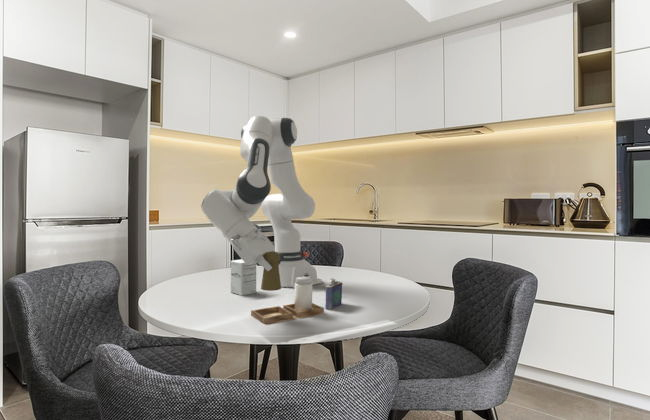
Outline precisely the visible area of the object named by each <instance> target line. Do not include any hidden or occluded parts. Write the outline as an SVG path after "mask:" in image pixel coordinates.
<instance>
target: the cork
mask: <svg viewBox="0 0 650 420" xmlns="http://www.w3.org/2000/svg"><path fill="white" fill-rule="evenodd" d="M263 257H264V258H265V260H266V261H267V262H268V263H270V264H271V265H272V266H273V268H272V269H271V270H270V271H267V270H266V269H265V268H264V267H263V271H262V278H261V286H260V289H261V290H262V291H267V292H268V291H270V292H271V291H279V290H281V289H282V287H281V282H280V274H279V265H278V262H279V261H280V255H279V253H277V252H274V251H273V252H266V253H265V254H264V255H263Z"/></svg>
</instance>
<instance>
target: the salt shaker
mask: <svg viewBox="0 0 650 420" xmlns="http://www.w3.org/2000/svg"><path fill="white" fill-rule="evenodd" d="M311 281H312V278H311V277H305V276H303V277H296V282H295V288H294V304H295V310H296V311H298V312H300V311H305V310H311V309H312V303H313V285H312V282H311Z"/></svg>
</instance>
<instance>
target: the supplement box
mask: <svg viewBox="0 0 650 420" xmlns="http://www.w3.org/2000/svg"><path fill="white" fill-rule="evenodd" d="M230 293H233V294H236V295H239V296H247V295H252V294H254V293H255V294H256V293H257V262H254V263H252V264H250V265H248V264H246V263H245V262H244V261H243V260H242V259H241V258H240V259H234V260H230Z"/></svg>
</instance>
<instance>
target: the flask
mask: <svg viewBox="0 0 650 420" xmlns="http://www.w3.org/2000/svg"><path fill="white" fill-rule="evenodd" d="M342 293H343V282H342V281H339V280H336V279H335V278H333V277H331V280H330V283H329V284H327V285H326V286H325V304H324V305H325V307H324V310H327V311H331V310H333V309H335V308H336V307H339V306H341V305H342V304H343V301H342V300H343V298H342V297H343V296H342V295H343V294H342Z"/></svg>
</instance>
